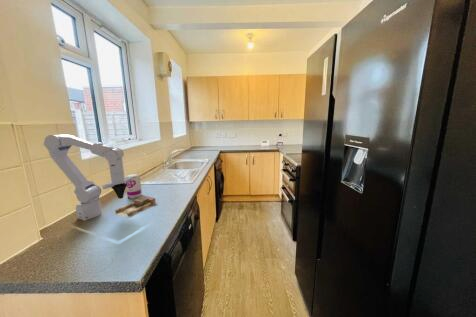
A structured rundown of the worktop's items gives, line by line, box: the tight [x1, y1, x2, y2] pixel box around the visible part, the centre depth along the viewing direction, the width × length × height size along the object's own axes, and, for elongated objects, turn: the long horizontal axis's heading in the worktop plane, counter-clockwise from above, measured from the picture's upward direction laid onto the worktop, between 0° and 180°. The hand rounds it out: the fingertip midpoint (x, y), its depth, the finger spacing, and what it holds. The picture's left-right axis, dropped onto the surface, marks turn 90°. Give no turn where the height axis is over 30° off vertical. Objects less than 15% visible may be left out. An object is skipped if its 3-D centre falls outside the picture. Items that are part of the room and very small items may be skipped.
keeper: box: [133, 197, 149, 207], centre depth 110 cm, size 5×6×4 cm
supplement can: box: [125, 173, 143, 200], centre depth 122 cm, size 8×8×15 cm
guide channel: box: [112, 195, 158, 218], centre depth 106 cm, size 18×13×4 cm
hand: (120, 197), depth 99 cm, fingers closed
